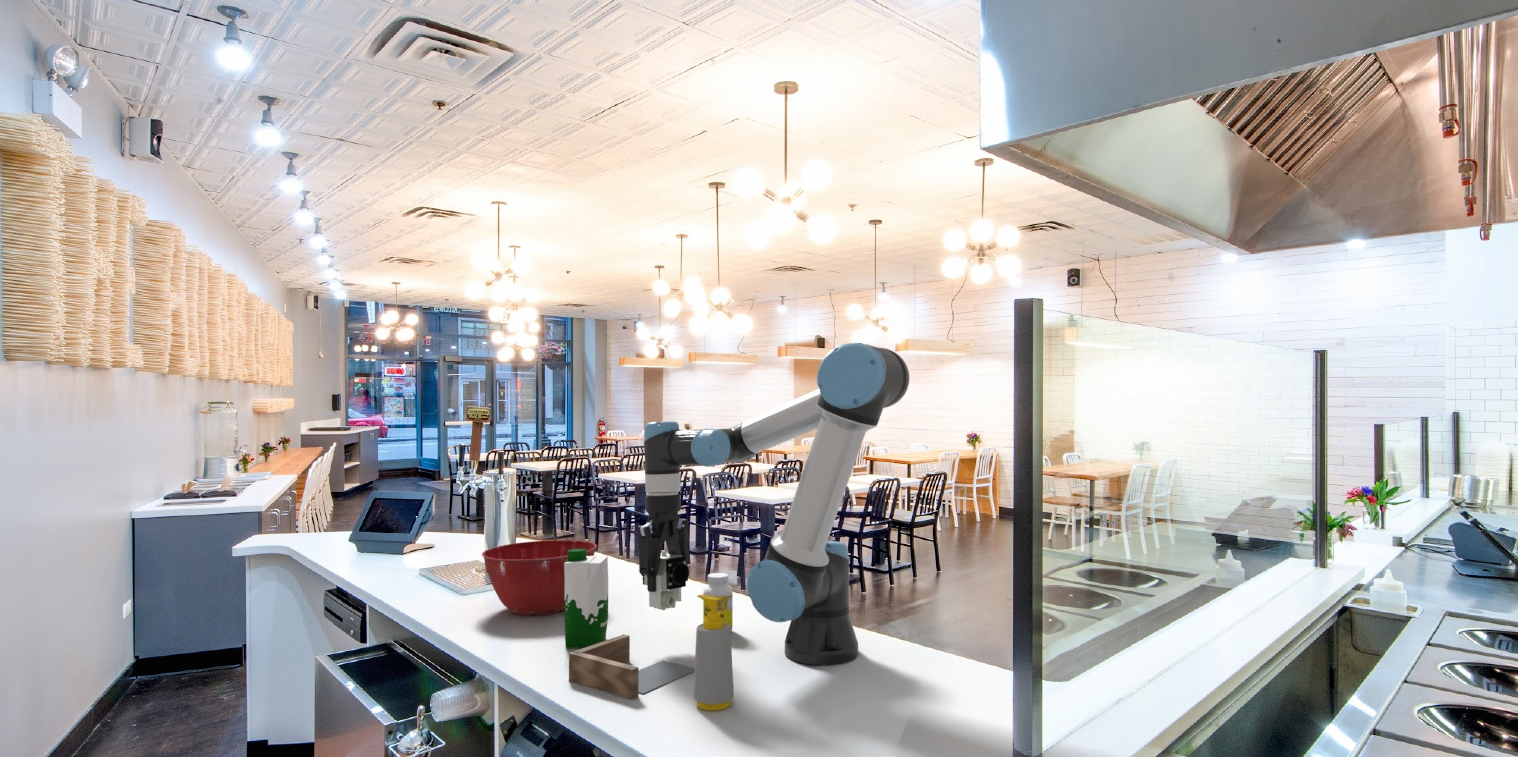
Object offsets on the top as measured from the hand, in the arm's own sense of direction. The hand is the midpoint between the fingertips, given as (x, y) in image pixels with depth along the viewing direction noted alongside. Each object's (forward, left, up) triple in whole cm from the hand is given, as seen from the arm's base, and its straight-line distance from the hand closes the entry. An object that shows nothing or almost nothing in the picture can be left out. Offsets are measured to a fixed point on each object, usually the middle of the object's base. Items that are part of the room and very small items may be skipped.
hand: (665, 603), depth 154 cm
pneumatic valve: (0, 0, -1) cm, 1 cm away
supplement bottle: (-2, -15, -10) cm, 18 cm away
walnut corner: (-6, +17, -9) cm, 20 cm away
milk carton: (+17, +7, -10) cm, 20 cm away
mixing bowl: (+49, -6, -10) cm, 50 cm away
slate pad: (-10, +14, -9) cm, 19 cm away
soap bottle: (-27, +18, -10) cm, 34 cm away
